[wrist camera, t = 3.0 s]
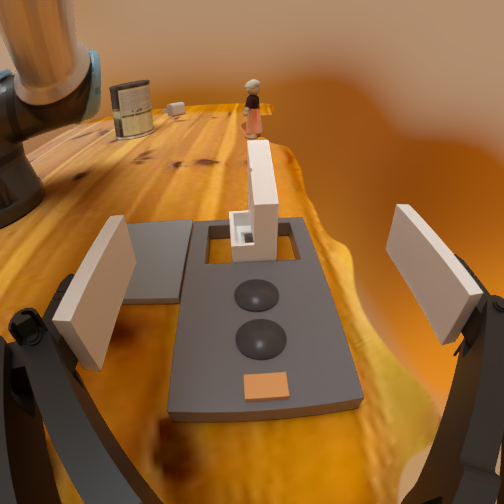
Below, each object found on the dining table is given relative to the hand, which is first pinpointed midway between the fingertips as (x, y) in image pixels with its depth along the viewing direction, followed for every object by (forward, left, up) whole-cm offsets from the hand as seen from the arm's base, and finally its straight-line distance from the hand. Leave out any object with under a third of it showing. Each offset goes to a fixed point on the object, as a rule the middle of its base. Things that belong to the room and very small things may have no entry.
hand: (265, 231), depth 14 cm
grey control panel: (-5, 0, -9) cm, 11 cm away
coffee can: (-65, -27, -10) cm, 71 cm away
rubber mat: (-11, -11, -9) cm, 18 cm away
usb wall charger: (-87, -21, -10) cm, 90 cm away
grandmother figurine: (-54, +3, -10) cm, 55 cm away
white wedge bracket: (-11, 0, -10) cm, 15 cm away
